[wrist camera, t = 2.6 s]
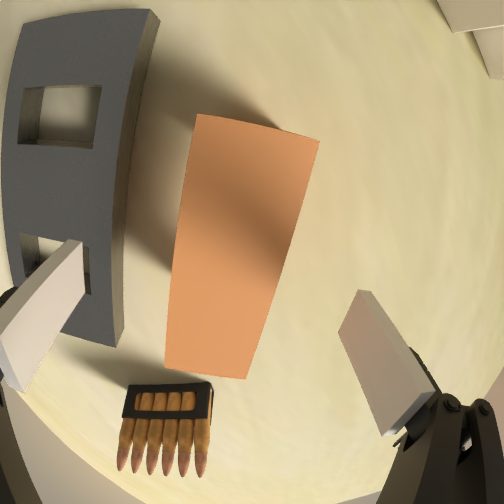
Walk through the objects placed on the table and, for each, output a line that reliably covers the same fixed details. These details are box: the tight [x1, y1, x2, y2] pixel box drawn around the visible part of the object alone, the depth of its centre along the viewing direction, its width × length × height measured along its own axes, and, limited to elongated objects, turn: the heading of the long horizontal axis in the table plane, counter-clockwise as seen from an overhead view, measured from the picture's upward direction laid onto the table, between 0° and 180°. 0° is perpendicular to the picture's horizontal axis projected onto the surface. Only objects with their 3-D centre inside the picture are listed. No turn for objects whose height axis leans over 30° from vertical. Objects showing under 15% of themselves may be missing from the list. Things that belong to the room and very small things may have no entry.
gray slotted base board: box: [1, 9, 160, 348], centre depth 19 cm, size 28×12×3 cm, turn 167°
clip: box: [165, 114, 320, 379], centre depth 18 cm, size 14×5×10 cm, turn 167°
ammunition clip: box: [117, 382, 214, 478], centre depth 26 cm, size 11×2×12 cm, turn 97°
